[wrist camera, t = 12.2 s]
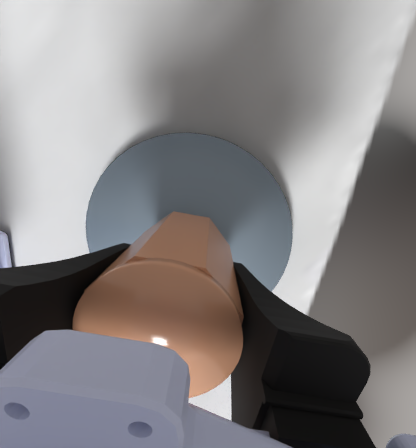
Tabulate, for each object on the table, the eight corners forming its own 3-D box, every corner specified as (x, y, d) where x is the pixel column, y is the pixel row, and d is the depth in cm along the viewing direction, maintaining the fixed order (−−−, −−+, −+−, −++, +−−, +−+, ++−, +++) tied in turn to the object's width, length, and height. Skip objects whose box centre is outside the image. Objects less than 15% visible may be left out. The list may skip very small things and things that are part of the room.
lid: (93, 303, 18) (86, 311, 17) (93, 115, 14) (84, 111, 13) (259, 330, 19) (262, 339, 18) (315, 157, 14) (322, 156, 13)
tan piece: (139, 283, 14) (74, 387, 8) (146, 205, 13) (69, 249, 6) (219, 297, 15) (224, 410, 8) (237, 220, 13) (262, 283, 6)
